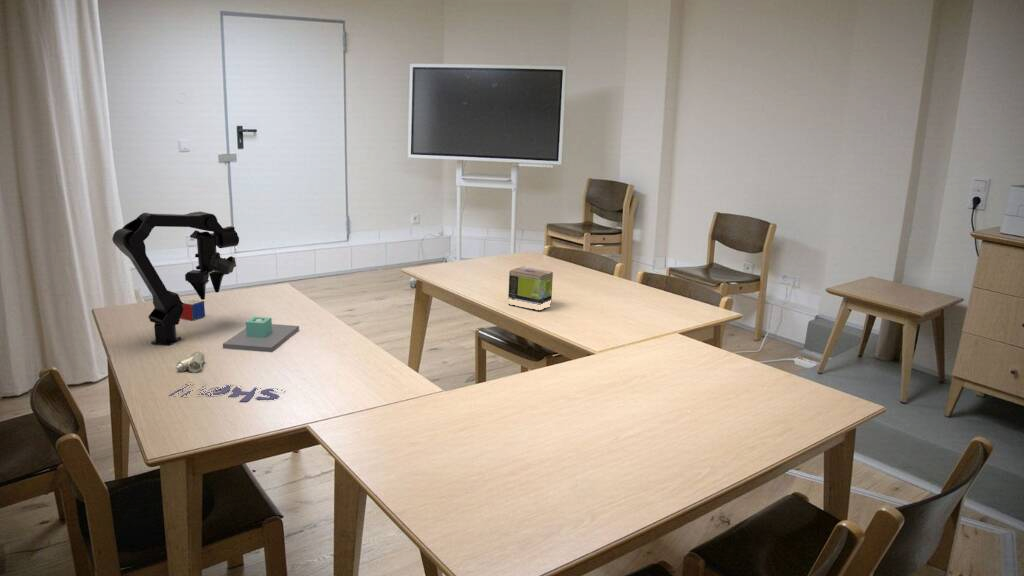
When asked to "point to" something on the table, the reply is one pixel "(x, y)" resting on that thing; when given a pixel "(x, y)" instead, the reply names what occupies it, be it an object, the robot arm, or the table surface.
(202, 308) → the puzzle
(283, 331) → the peg board
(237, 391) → the signage
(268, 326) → the bead
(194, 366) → the pipe fitting
